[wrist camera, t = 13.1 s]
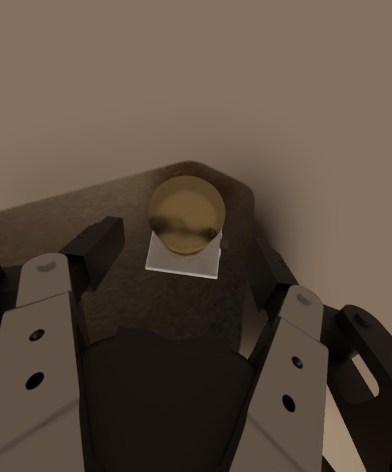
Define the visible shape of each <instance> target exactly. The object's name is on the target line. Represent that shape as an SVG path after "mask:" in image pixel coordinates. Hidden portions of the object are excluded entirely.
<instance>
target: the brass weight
mask: <svg viewBox="0 0 392 472" xmlns="http://www.w3.org/2000/svg"><path fill="white" fill-rule="evenodd" d="M148 219H149V223H150V226H151V228H152V230H153V231H154V233H155V234H156V236H157V237H158V238H159V239H160V241H161V242H162V243H163V244H164V245H165V247H166V248H167V249H168V250H169V252H170V253H171V254H172V255H174V256H175V257H177V258H180V259H191V258H194V257H196V256H197V255H199V254H200V253H201V252H202V251H203V250H204V249H205V248H206V247H207V246H208V244H209V243H210V242H211V241H212V240H213V239H214V238H215V237H216V236H217V235H218V234H219V232H220V231H221V229H222V227H223V224H224V220H225V205H224V202H223V199H222V197H221V195H220V194H219V192H218V191H217V190H216V188H215V187H214V186H213V185H211V184H210V183H209V182H207V181H205V180H203V179H201V178H198V177H194V176H178V177H174V178H171V179H169V180H167V181H165V182H163V183H162V184H161V185H160V186H159V187H158V188H157V189H156V190H155V191H154V193H153V194H152V196H151V198H150V201H149V204H148Z"/></svg>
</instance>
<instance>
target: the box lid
mask: <svg viewBox="0 0 392 472" xmlns="http://www.w3.org/2000/svg"><path fill="white" fill-rule="evenodd" d="M220 238H221V231H220V232H219V234H218V235H217V236H216V237H215V238H214V239H213V240H212V241H211V242H210V243H209V244H208V246H207V247H206V248H205V249H204V250H203V251H202V252H201V253H200V254H199V255H197V256H196V257H194V258H191V259H180V258H177V257H175V256H174V255H172V254H171V253H170V252H169V250H168V249H167V248H166V247H165V245H164V244H163V243H162V242H161V241H160V239H159V238H158V237H157V236H156V234H155V233H154V231H153V236H152V241H151V246H150V251H149V256H148V261H147V266H146V267H151V268H159V269H166V270H173V271H180V272H187V273H195V274H202V275H209V276H217V266H218V257H219V248H220V249H228V245H229V240H225V239H220Z"/></svg>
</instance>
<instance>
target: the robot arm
mask: <svg viewBox="0 0 392 472" xmlns="http://www.w3.org/2000/svg"><path fill="white" fill-rule="evenodd" d="M124 244H125V236H124V226H123V220H122V218H118V217H112V216H107V217H106V218H105V219H103V220H102V221H101V222H100V223H96V224H93V225H91V226H89V227H87V228H86V229H85V230H84V231H83V232H82V233H80V234H79V235H78V236H77V238H74V239H73V240H72V241H71V242H70V243H68V244H67V245H66V246H65V247H64V248H63V249H61V250H60V251H59V252H58V253H49V254H44V255H40V256H37V257H35V258H33V259H31V260H29V261H28V262H27V263H26V264H25V265H24V266H12V267H1V266H0V472H335V471H334V469H333V468H332V467H331V465H330V464H329V463H328V461H327V460H326V459H325V458H324V456H323V455H322V448H323V432H324V416H325V400H326V384H327V385H328V387H329V389H330V392H331V394H332V396H333V398H334V400H335V403H336V405H337V407H338V409H339V411H340V414H341V416H342V418H343V420H344V423H345V425H346V427H347V429H348V431H349V434H350V436H351V438H352V440H353V442H354V445H355V447H356V449H357V451H358V454H359V456H360V458H361V460H362V462H363V465H364V467H365V469H366V471H367V472H392V336H391V334H390V333H389V332H388V331H387V330H386V329H385V328H384V327H383V325H382V324H381V323H380V322H379V321H378V320H377V319H376V318H375V317H374V316H372V315H371V314H370V313H368V312H367V311H365V310H364V309H362V308H360V307H357V306H354V305H345V306H344V307H343V308H342V309H341V310H337V309H334V308H331V307H329V306H326V305H324V304H323V303H322V301H321V300H320V298H319V297H318V296H317V295H316V294H315V293H314V292H312V291H311V290H309V289H307V288H305V287H303V286H300V285H299V284H298V282H297V281H296V279H295V277H294V276H293V274H292V273H291V271H290V270H289V268H288V267H287V265H286V263H285V262H284V260H283V258H282V257H281V255H280V254H279V253H277V252H276V251H275V250H274V249H272V248H271V246H270V245H269V243H268V241H266V240H264V239H257V238H253V239H252V241H251V243H250V245H249V248H248V250H247V253H246V255H245V258H244V268H245V271H246V274H247V277H248V281H249V284H250V287H251V290H252V293H253V297H254V300H255V303H256V306H257V309H258V313H262V314H267V315H268V320H267V321H266V323H265V325H264V327H263V330H262V332H261V334H260V336H259V339H258V341H257V343H256V346H255V347H254V350H253V352H252V353H251V355H250V357H249V358H248V360H247V359H246V358H245V357H244V356H242V355H241V354H239V353H238V352H236V351H234V350H233V349H230V347H229V339H224V338H215V337H206V336H200V337H195V338H189V339H183V340H178V341H173V340H170V339H167V338H165V337H163V336H160V335H158V334H155V333H153V332H150V331H148V330H143V329H134V328H124V327H119V328H118V331H117V333H116V335H115V336H112V337H108V338H105V339H102V340H100V341H97V342H95V343H93V344H90V340H89V336H88V332H87V327H86V321H85V316H84V310H83V304H82V299H81V296H82V294H83V293H84V291H86V292H95V290H96V289H97V287H98V286H99V284H100V283H101V281H102V280H103V278H104V277H105V275H106V274H107V272H108V271H109V269H110V268H111V266H112V265H113V263H114V262H115V260H116V259H117V257H118V256H119V254H120V253H121V251H122V250H123V248H124ZM358 354H359V355H360V356H361V358H362V359H363V361H364V362H365V364H366V365H367V367H368V368H369V370H370V372H371V373H372V374H373V376H374V378H375V379H376V381H377V383H378V386H379V394H378V396H376V397H374V395H373V394H372V392H371V390H370V389H369V387H368V385H367V384H366V382H365V381H364V379H363V377H362V376H361V374H360V372H359V371H358V369H357V367H356V366H355V364H354V363H353V361H352V359H351V358H353V357H355V356H356V355H358Z"/></svg>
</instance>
